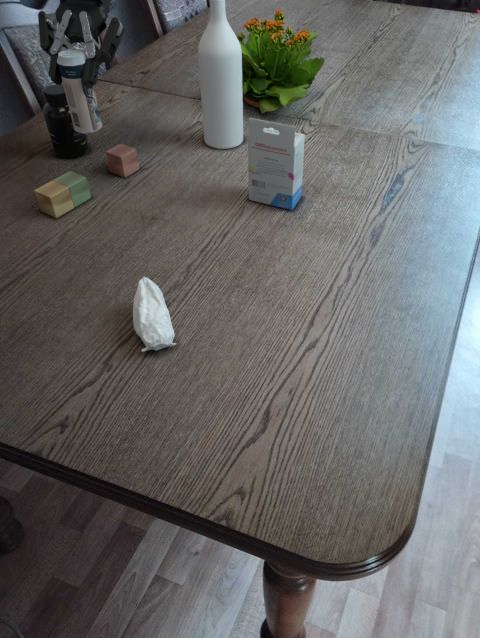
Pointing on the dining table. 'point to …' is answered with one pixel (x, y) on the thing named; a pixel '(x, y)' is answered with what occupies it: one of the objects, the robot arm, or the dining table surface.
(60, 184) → the block row
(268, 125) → the ink box
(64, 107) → the supplement bottle
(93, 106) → the white cylindrical canister
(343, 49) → the dining table surface
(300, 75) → the potted flower
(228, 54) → the bottle
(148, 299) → the white crumpled pouch
